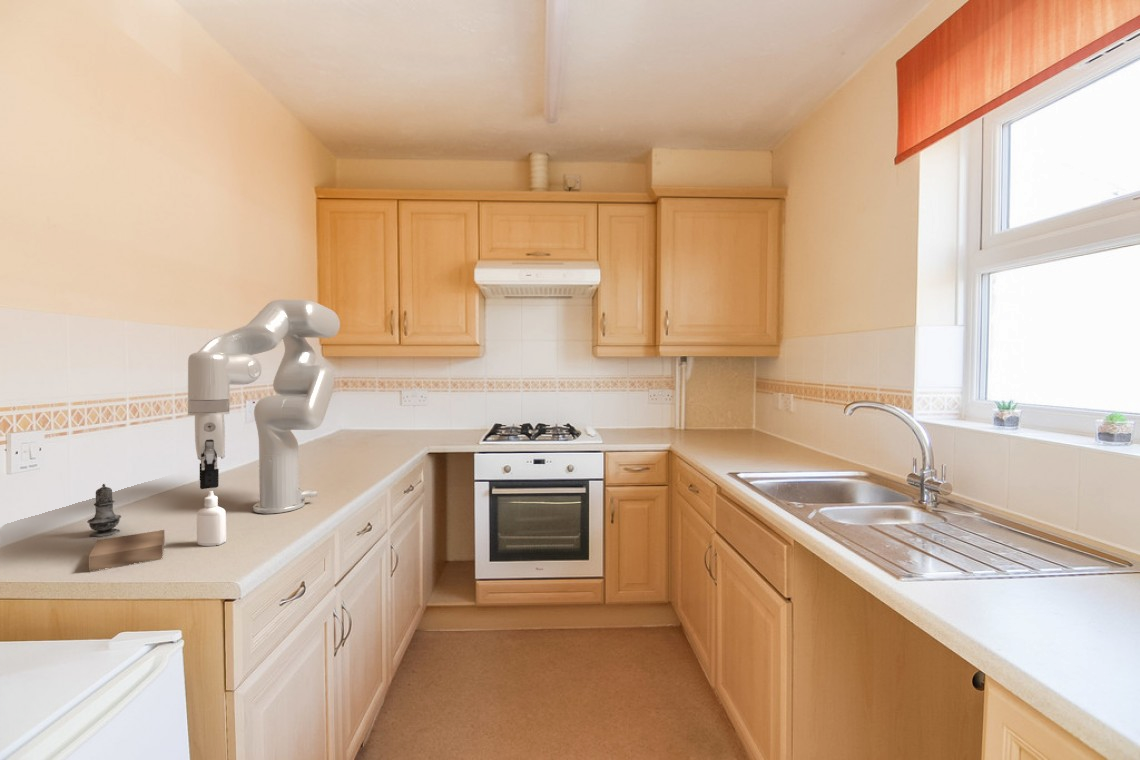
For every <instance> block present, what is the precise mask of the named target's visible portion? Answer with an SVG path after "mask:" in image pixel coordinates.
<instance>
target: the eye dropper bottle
mask: <svg viewBox="0 0 1140 760" xmlns="http://www.w3.org/2000/svg"><path fill="white" fill-rule="evenodd" d="M218 500H219V498H218V496H217V495H215V494H214V490H209V491H208V495H207V496H206V497H204V507H202V508H200V509H199V510H197V513H196V544H197V545H198V546H202V547H215V546H216V545H217V546H220V545H222V544H224V543H226V541H227V514H226V513H227V512H226V510H225V508H223V507H221V506H219V504H218V503H219V501H218Z"/></svg>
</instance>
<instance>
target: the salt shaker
mask: <svg viewBox="0 0 1140 760" xmlns="http://www.w3.org/2000/svg"><path fill="white" fill-rule="evenodd" d="M114 503H115V500H113V490H112V488H111V487H108V486H106V484H105V483H103V484H101V487H100V488H98V489H96V491H95V503H93V506H95V513H94V517H92V518H90V519H88V520H87V524H88V526H89V527H90V529H91V530H94V532H92V533H90V534H89V538H92V537H97V538H104V537H103V536H105V537H109V535H110V536H113V534H114V535H116V533H117V534H119V533H120V532H121V530H120V529H118V528H115V527H117V526H118V525H119V523H120V521H121V518H122V515H120V514H116V513H115V512H114V505H113V504H114ZM118 532H119V533H118Z"/></svg>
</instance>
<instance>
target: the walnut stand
mask: <svg viewBox="0 0 1140 760" xmlns="http://www.w3.org/2000/svg"><path fill="white" fill-rule="evenodd" d="M165 544H166V543H165V529H160V530H155V531H148V532H141V533H135V534H129V535H128V534H126V535H122V536H116V537H115V536H114V537H109V538H103V539H97V540H96V541H95V544H94V545H93V547H92V550H91V552H90V554H89V556H88V572H89V573H91V572H90V571H93V570H98V571H100V570H99V569H104V570H106V569H105V568H109V569H113V568H112V567H115V568H119V567H118V566H120V567H124V566H123V565H126V566H130V565H129V564H131V565H135V564H134V563H137V564H140V563H139V562H142V563H146V562H145V561H148V562H151V561H150V560H153V561H157V560H156V559H159V560H162V559H163V557H162V556H164V551H165V550H164V549H165ZM161 558H162V559H161ZM93 572H94V571H93Z"/></svg>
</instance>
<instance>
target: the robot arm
mask: <svg viewBox="0 0 1140 760" xmlns="http://www.w3.org/2000/svg"><path fill="white" fill-rule="evenodd" d="M340 328H341V321H340V318H339V316H338V315H337V313H336V311H334V310H332V309H330V308H328V307H327V306H325V305H322V304H321V303H318V302H315V301H313V300H309V299H274V300H271V301H269V303H267V304H266V305H265V306H264V307H263V308H262V309H261V310H260V311H259V312H258V313H257V315H255V317H253V318H252V319H251V320H250V321H249V323H247V324H246V325H243V326H240V327H238V328H235V329H233V330H230V331H228V332H226V333H223V334H220V335H218V336H216V337H214V338H213V339H210V340H209V341H207V342H206V344H204V345H203V346H202V347H201V348H200V349H199V350H198V351H197V352H193V353H191V354H190V355H189V356H188V359H187V415H188V416H194V441H195V442H194V443H195V450H196V456H197V459H198V460H199V461H200V462H199V488H200V490H207V489H215V488H216V489H217V488H218V487H219V476H220V475H219V469H220V468H218V458H220V459H221V460H223V459H225V457H226V455H225V454H226V453H225V452H226V451H225V449H226V446H225V444H226V443H225V440H226V439H225V438H226V433H225V432H226V431H225V427H226V426H225V416H224V415H228V414H229V415H230V385H235V386H236V385H238V386H241V385H250V384H252V383H254V382H256V381H257V380H258V379H259V378H260V376H261V374H262V364H261V363H260V361H259V359H258V358H257V357H255V356H254V355H258V354H262V353H266V352H269V351H271V350H272V351H273V350H274V349H275V348H276V347H278V345H280V343H281V342H283V345H284V353H283V356H282V359H281V362H280V363H279V366H278V368H277V370H276V373H275V376H274V379H273V383H272V386H273V390H274V392H275V393H276V394H278V395H270V396H269V395H268V396H265V397H263V398H261V399H260V400H258V401H257V402H256V404H255V406H254V409H253V417H254V421H255V425H256V429H257V435H258V460H259V461H258V464H259V465H258V467H259V469H258V471H259V472H258V473H259V474H258V475H259V476H258V477H259V478H258V479H259V480H258V481H259V482H258V483H259V485H258V486H259V502H257V503H255V504H254V505H253V506H252V511H253V512H255V513H258V514H269V515H270V514H280V513H286V512H287V513H288V512H291V511H294V510H298V509H300V508H302V507H303V506H304V505H305V504H306V500H305V499H307V498H314V497H318V490H317V489H314V490H312V489H306V490H302V489H300V487H299V486H300V485H299V484H300V483H299V482H300V481H299V478H300V477H299V443H298V439H297V438H296V436H295V434H294V433H293V432H292V430H293V431H308V430H309V431H310V430H316V429H318V428H319V427H320V426H321V425H322V424H323V421H324V420H325V417H326V414H327V411H328V407H329V405H330V401H331V398H332V395H333V393H334V387H335V377H334V373H333V371H332V369H331V368H329V367H328V366H326V365H321V364H315V363H316V359H317V355H316V351H315V350H314V349H313V347H312V346H311V345H310V344H309V342H308V341H307V340H306V338H314V339H315V338H317V339H318V338H323V339H324V338H329V339H330V338H334V337H335V336H336V335H338V333H339V332H340Z"/></svg>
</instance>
